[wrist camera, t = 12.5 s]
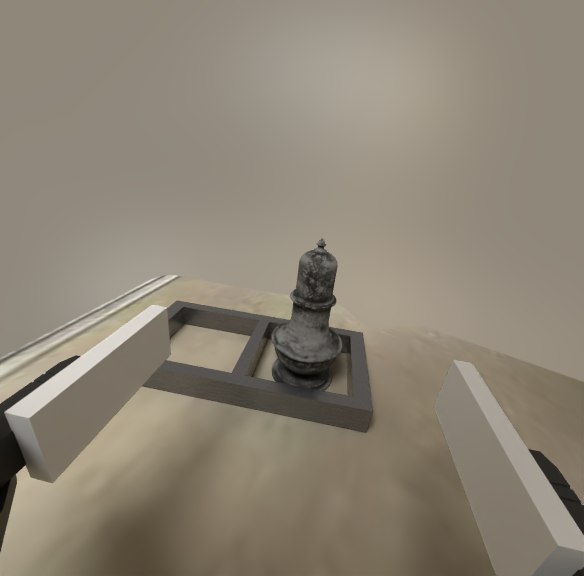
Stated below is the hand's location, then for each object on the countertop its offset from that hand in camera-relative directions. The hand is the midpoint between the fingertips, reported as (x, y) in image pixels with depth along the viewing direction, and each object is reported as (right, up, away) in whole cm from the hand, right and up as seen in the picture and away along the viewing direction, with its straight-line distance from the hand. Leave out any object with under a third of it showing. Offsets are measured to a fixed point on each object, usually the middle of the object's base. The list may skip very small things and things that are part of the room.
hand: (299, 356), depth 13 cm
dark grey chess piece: (+1, -4, +12) cm, 13 cm away
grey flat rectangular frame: (-4, -3, +12) cm, 13 cm away
